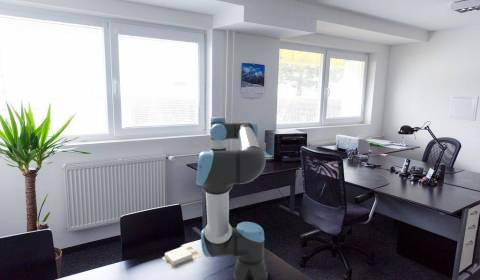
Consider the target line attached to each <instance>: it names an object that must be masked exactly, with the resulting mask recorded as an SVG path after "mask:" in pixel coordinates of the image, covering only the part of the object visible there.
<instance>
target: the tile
mask: <svg viewBox="0 0 480 280" xmlns="http://www.w3.org/2000/svg"><path fill="white" fill-rule="evenodd" d="M186 248H187V247H185V246H184V245H182V246H180V247H177V248H175V249H172V250H168V251H166V252H165V253H164V257H165V258H166V259H167V260H168V261H169V262H170V263H171V264H172V265H173V266H175V265H178V264H180V263H183V262H185V261H187V260H190V259H192V253H191V252H190V251H188V250H187V249H186Z"/></svg>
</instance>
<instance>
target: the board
mask: <svg viewBox="0 0 480 280" xmlns="http://www.w3.org/2000/svg"><path fill="white" fill-rule="evenodd" d="M185 248H186V249H187V250H188V251H190V252H191V253H192V259H190V260H187V261H185V262H183V263H180V264H178V265H175V266H173V265H172V264H171V263H170V262H169V261H168V260H167V259H166V258H165V256H162V257H161V259H162V260H163V261H164V262H165V263H166V264H168V266H169V267H171V269H174V268H176V267H178V266H182V265H184V264H187V263H189V262H190V261H193V260H196V259H198V258H200V257H202V256H203V255H202V253H201V254H200V253H199V252H198V251H197V250H195V248H193V247H192V246H189V247H185Z"/></svg>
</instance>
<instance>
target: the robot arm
mask: <svg viewBox="0 0 480 280" xmlns="http://www.w3.org/2000/svg"><path fill="white" fill-rule="evenodd" d="M209 134H210V140H211V142H210V146H211V148H210V150H205V151H201V152H199V154H198V160H197V170H196V171H197V172H196V181H195V184H196V185H197V186H201V189H202V191H203V192H204V193H205V201H206V203H205V204H206V221H207V223H206V225H205V227H204V228H203V229H202V230H201V235H200V243H201V251H202V254H203V255H204V257H206V258H221V257H222V258H223V257H224V258H226V257H236V258H237V259H236V261H235V264H234V265H235V266H234V267H233V271H232V273H233V279H234V280H268V278H269V277H268V273H269V272H268V267H267V265H266V261H265V231H264V229H263V227H262V226H261V225H259V224H258V223H255V222H251V221H242V222H239V223H237V226H236V227H232V225H231V224H230V222H229V221H230V218H229V216H230V211H229V210H230V206H229V205H230V203H229V202H230V201H229V200H230V195H229V194H230V191H231V190H232V189H233V186H234V185H243V184H248V183H250V182H253V181H254V180H255V179H257V178H258V177H259V176H260V175H261V174H262V172H263V170H264V169H265V167H266V165H267V164H266V162H267V158H266V155H265V152H264V151H263V149H262V148H261V147H260V145H259V142H258V139H257V138H258V134H259V128H258V124H257V123H256V122H236V123H235V122H230V123H228V122H227V120H226V117H224V116H212V117H211V118H210V130H209ZM227 140H238V142H239V150H238V149H237V150H227Z"/></svg>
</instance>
